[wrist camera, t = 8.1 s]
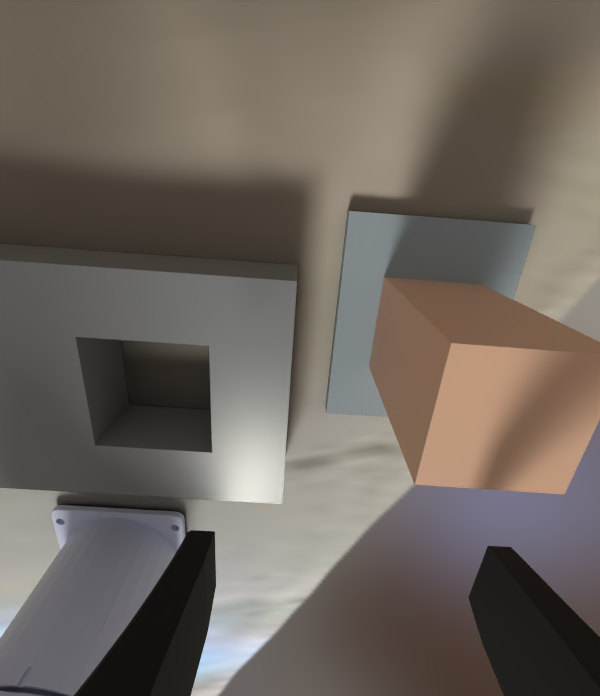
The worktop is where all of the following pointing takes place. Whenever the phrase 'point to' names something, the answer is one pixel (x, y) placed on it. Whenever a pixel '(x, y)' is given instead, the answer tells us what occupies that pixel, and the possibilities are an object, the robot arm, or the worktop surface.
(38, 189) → the worktop surface
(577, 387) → the plug
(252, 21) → the worktop surface
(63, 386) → the plate
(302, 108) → the worktop surface
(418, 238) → the mat
